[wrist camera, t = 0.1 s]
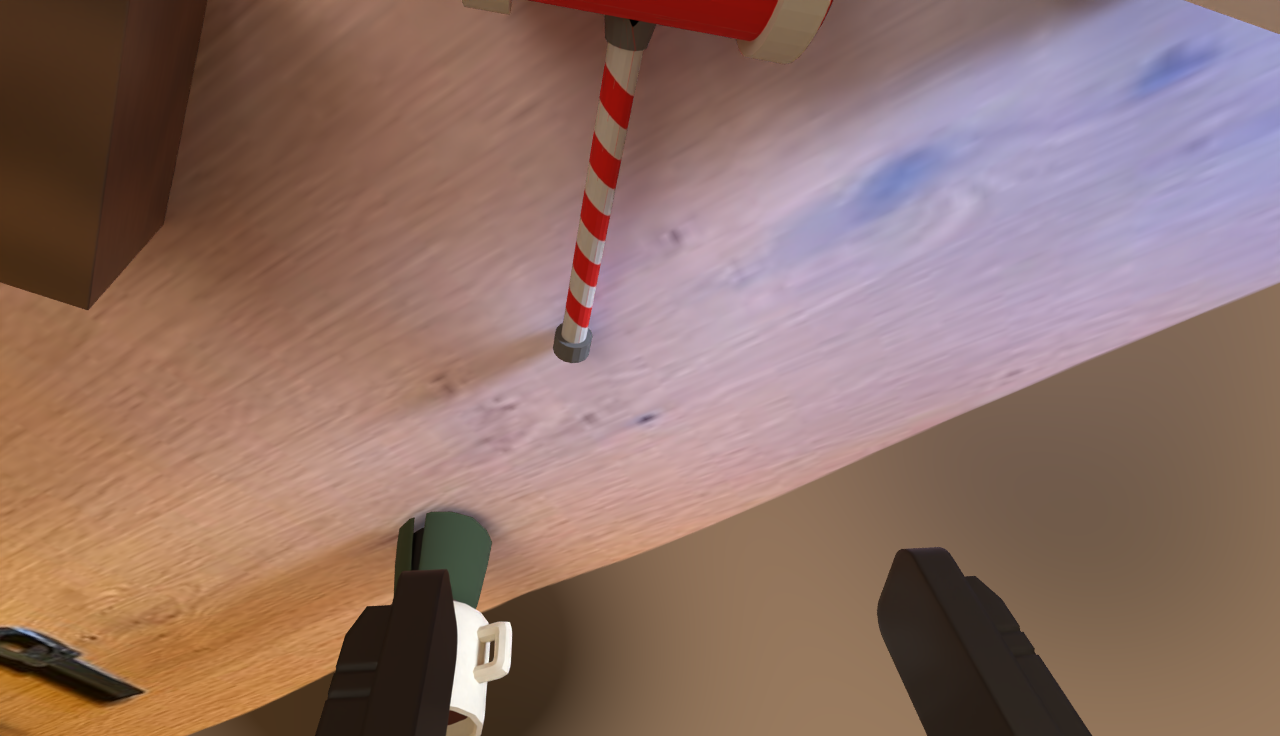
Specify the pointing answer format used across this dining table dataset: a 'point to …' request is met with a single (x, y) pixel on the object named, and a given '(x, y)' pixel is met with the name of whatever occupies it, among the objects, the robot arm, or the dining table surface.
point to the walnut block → (88, 135)
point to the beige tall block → (1247, 11)
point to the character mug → (460, 608)
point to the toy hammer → (633, 4)
